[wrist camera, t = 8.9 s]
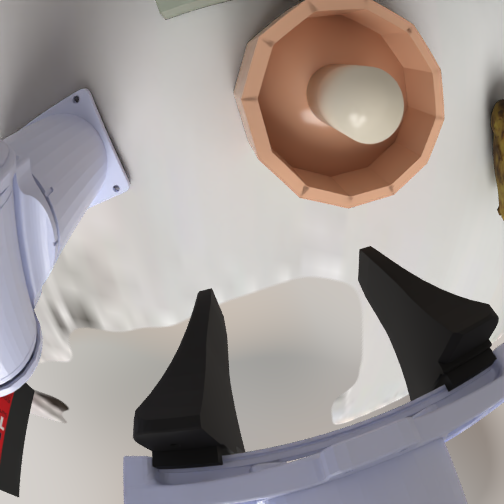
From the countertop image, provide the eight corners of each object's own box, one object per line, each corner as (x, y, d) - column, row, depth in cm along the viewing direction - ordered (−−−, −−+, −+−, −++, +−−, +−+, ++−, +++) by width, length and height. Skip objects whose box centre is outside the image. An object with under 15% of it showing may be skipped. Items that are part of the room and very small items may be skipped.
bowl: (265, 200, 22) (277, 229, 18) (211, 26, 14) (213, 15, 10) (413, 160, 21) (443, 180, 18) (392, 6, 13) (428, 1, 10)
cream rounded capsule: (314, 132, 18) (342, 151, 15) (299, 70, 15) (325, 73, 12) (371, 118, 18) (407, 135, 14) (359, 59, 15) (397, 63, 12)
